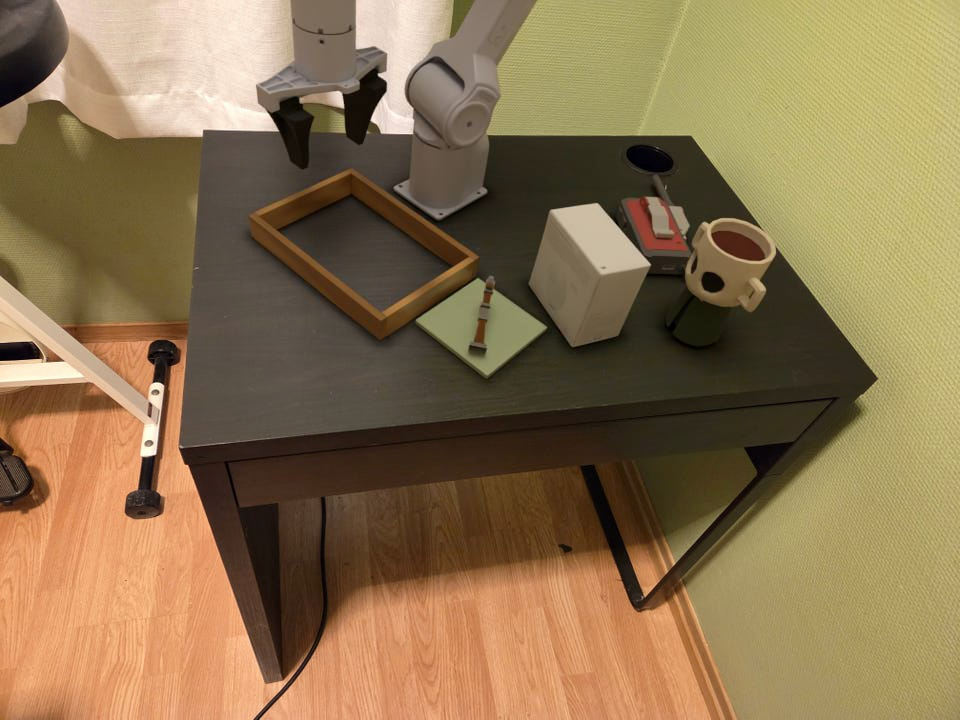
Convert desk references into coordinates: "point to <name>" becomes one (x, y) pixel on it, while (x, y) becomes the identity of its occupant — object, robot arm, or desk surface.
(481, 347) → the wooden post with brackets
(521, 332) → the mat
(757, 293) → the character mug
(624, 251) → the cosmetics box
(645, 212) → the walkie-talkie
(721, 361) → the desk surface
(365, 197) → the wooden frame
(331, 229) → the desk surface
